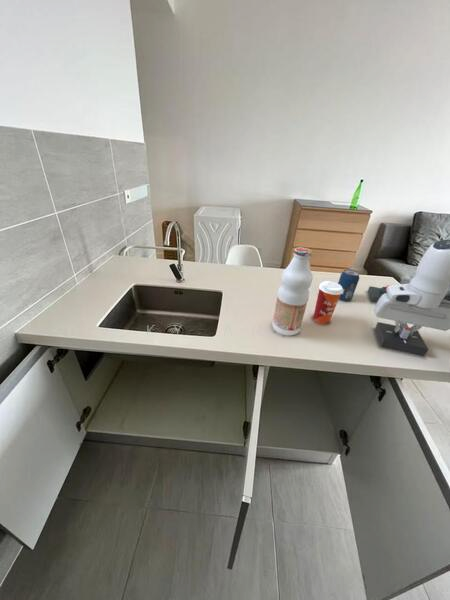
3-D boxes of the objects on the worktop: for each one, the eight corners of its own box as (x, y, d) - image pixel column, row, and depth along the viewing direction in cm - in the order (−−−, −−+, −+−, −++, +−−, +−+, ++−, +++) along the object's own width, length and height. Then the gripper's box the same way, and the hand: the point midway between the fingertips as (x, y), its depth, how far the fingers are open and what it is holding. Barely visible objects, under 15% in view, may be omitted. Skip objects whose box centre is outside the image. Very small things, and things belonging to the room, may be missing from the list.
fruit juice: (273, 335, 80) (289, 254, 65) (270, 318, 88) (284, 243, 73) (302, 337, 79) (324, 256, 65) (296, 320, 87) (315, 245, 73)
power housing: (399, 296, 106) (404, 287, 104) (406, 308, 98) (411, 299, 96) (367, 291, 109) (371, 282, 107) (371, 302, 101) (375, 292, 99)
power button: (393, 289, 103) (395, 286, 102) (395, 293, 100) (397, 290, 99) (384, 288, 104) (385, 284, 103) (386, 292, 101) (387, 288, 100)
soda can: (339, 292, 107) (348, 267, 101) (354, 299, 103) (364, 273, 96) (330, 296, 104) (338, 270, 97) (345, 304, 99) (355, 277, 93)
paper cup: (320, 327, 85) (331, 292, 77) (306, 315, 90) (315, 282, 83) (337, 322, 87) (349, 288, 80) (322, 311, 93) (332, 279, 86)
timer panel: (413, 336, 83) (417, 329, 81) (424, 356, 74) (429, 348, 73) (374, 328, 85) (378, 321, 84) (380, 347, 77) (384, 339, 76)
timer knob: (396, 329, 80) (401, 321, 79) (402, 330, 80) (406, 322, 78) (400, 338, 77) (405, 329, 75) (406, 339, 76) (411, 330, 75)
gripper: (459, 298, 71) (435, 334, 78) (382, 284, 76) (366, 320, 83) (470, 309, 66) (444, 347, 73) (386, 294, 71) (369, 331, 78)
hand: (402, 332), depth 78 cm, fingers closed on timer knob, 2 cm apart
